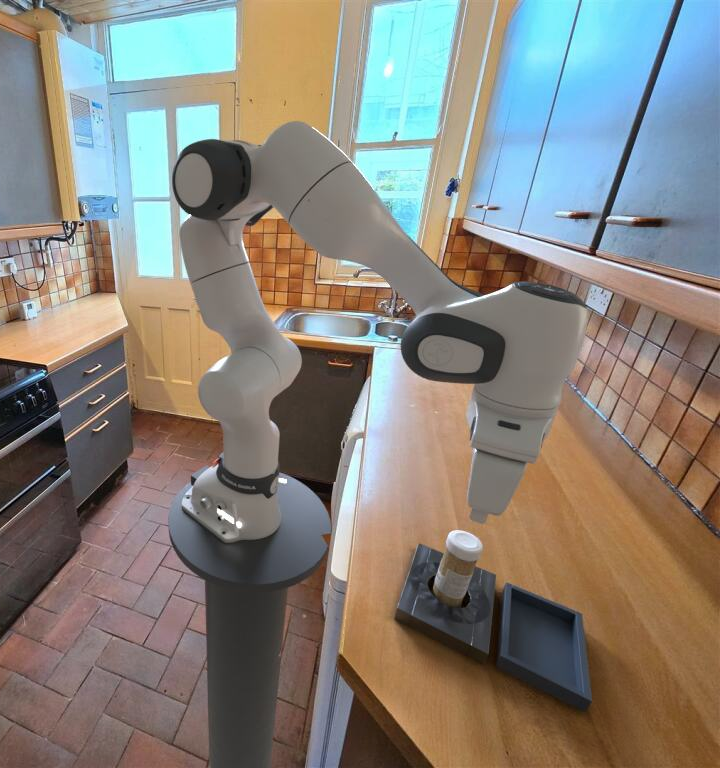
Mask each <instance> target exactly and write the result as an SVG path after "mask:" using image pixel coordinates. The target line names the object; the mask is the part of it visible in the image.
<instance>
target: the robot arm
mask: <svg viewBox="0 0 720 768" xmlns="http://www.w3.org/2000/svg"><path fill="white" fill-rule="evenodd" d="M171 172H172V173H171V185H172V192H173V195H174V198H175V200H176V202H177V204H178V205H179V207H180V208H181V209H182V211H184V212H185V213H186V214H187V215H188V216H187V217H185V219H184V220H182V223H181V225H180V227H179V234H178V235H179V242H180V249H181V254H182V259H183V263H184V267H185V271H186V274H187V278H188V281H189V284H190V287H191V290H192V293H193V296H194V299H195V301H196V305H197V307H198V310H199V314H200V316H201V318H202V322H203V323H204V325H205V327H207V328H208V329H209V330H211V331H213V332H216V333H217V334H218V335H219V336H221V337H222V338H223V339H224V341H225V342H226V344H227V345H228V347H229V349H230V350H231V354H229V355H227V356H225V357H223V358H221V359H219V360H218V361H216V362H215V363H214V364H213V365H212V366H211V367H210V368H209V369H208V370H206V372H205V373H204V374H203V375H202V376H201V378H200V379H199V381H198V386H197V396H198V400H199V402H200V404H201V407H202V408H203V410H204V411H205V412H206V414H208V416H210V417H211V418H212V419H214V420H216V421H218V422H219V423H220V427H221V431H222V443H223V445H222V446H223V452H222V453H220V454H219V455H218V457H217V458H216V459H215V460H214V461H213V462H212V466H208V465H207V464H206V465H204V466H203V467H202V468H200V469H199V470H197V471H196V472H194V473H192V474H191V475H190V482H191V485H192V486H193V487H192V488H191V489H190V490H189V491H188V492H187V493H186V494H185V496H184V498H183V500H182V506H181V507H182V509H183V510H184V511H186V512H187V513H188V514H189V515H191V516H192V517H193V518H194V519H196V520H197V521H198V522H199V523H201V524H202V525H203V526H205V527H206V528H207V529H208V530H210V531H211V532H212V533H213V534H215V535H216V536H217V537H218V538H220V539H221V540H222V541H223V542H225V543H232V542H236V541H239V540H256V539H261V538H265V537H267V536H269V535H271V534H273V533H274V532H275V531H276V530H277V529H278V528H279V526H280V524H281V519H282V516H281V512H280V509H279V504H278V497H277V489H278V484H279V482H283V483H286V481H287V480H285V479H280V478H279V472H280V461H279V452H280V451H279V449H280V436H281V435H280V430H279V428H278V425H277V424H276V423H275V422H273V420H271V419H270V414H269V413H270V407H271V403H272V402H273V400H274V398H275V397H277V396H278V395H280V394H281V393H282V392H283V391H285V390H286V389H288V388H289V387H290V386H291V385H292V383H293V382H294V380H295V379H296V377H297V376H298V374H299V372H300V370H301V369H302V364H303V359H302V354H301V352H300V349H299V347H298V346H297V345H296V344H295V342H294V341H292V340H291V339H289V338H288V337H286V336H285V335H283V334H282V333H281V331H280V329H279V328H278V327H277V325H276V324H275V322H274V320H273V319H272V317H271V316H270V314H269V313H268V311H267V308H266V306H265V305H264V302H263V299H262V296H261V294H260V291H259V287H258V285H257V282H256V279H255V275H254V272H253V270H252V267H251V264H250V260H249V257H248V255H247V251H246V249H245V245H244V240H243V232H244V229H245V226H246V227H253V226H255V225H256V224H257V223H258V222H259V221H260V220H261V219H262V218H263V217H264V216H265V215H266V214H267V213H269V212H270V211H271V210H272V209H275V210H276V211H277V212H278V214H280V216H281V217H282V218H283V220H285V222H286V223H287V224H288V225H289V227H290V228H291V229H292V230H293V232H294V233H295V234H296V235H297V236H298V237H299V239H301V240H302V241H303V242H304V243H305V244H306V245H307V246H309V247H310V248H311V249H312V250H313V251H314V252H316V253H317V254H318V255H320V256H322V257H324V258H327V259H333V260H338V261H346V262H349V263H350V262H351V263H355V264H358V265H362V266H364V267H366V268H368V269H371V270H372V271H373V272H375V273H376V274H378V275H379V276H380V277H381V278H382V279H383V280H384V281H385V282H386V283H387V284H388V285H389V286H390V287H391V288H392V289H393V291H395V292H396V293H397V294H398V296H400V297H401V298H402V300H403V301H404V302H405V303H406V304H407V305H408V306H409V307H410V308H411V309H412V310H413V313H414V314H415V318H414V319H413V320H412V321H411V322H410V323H409V324H408V326H407V327H406V328H405V330H404V331H403V333H402V336H401V339H400V353H401V356H402V359H403V362H404V363H405V365H406V366H407V368H408V369H410V371H411V372H412V373H414V374H415V375H416V376H419V377H420V378H423V379H425V380H428V381H431V382H432V381H433V382H437V383H438V382H439V383H449V384H460V385H473V387H472V391H471V395H470V399H469V402H468V406H467V409H466V413H465V420H466V421H467V423H468V428H469V435H470V436H469V441H470V442H469V447H471V448H472V456H471V457H472V458H471V466H470V473H469V478H468V485H467V492H466V493H467V494H466V503H467V506H469V508H471V509H470V513H469V519H470V520H471V521H473V522H475V523H479V524H482V525H483V524H485V523H486V522H487V520H488V516H489V515H492V516H495V517H496V516H497V517H499V516H501V515H503V513H505V511H506V510H507V509H508V507H509V505H510V503H511V501H512V499H513V497H514V495H515V493H516V492H517V490H518V488H519V485H520V483H521V481H522V479H523V477H524V474H525V473H526V470H527V467H528V465H529V464H536V463H537V461H538V458H539V456H540V454H541V450H542V447H543V443H544V442H545V441H546V439H548V437H549V435H550V432H551V429H552V426H553V424H554V421H555V419H556V416H557V414H558V411H559V408H560V407H561V403H562V400H563V399H562V397H563V395H562V391H563V386H564V383H565V381H566V380H567V378H568V377H569V376H570V375H571V374H572V373H573V371H574V369H575V367H576V364H577V361H578V358H579V356H580V353H581V350H582V347H583V343H584V340H585V336H586V332H587V327H588V323H589V309H588V307H587V305H586V304H585V302H584V301H583V299H582V298H580V297H579V296H578V295H577V294H575V293H574V292H572V291H570V290H569V291H568V290H567V289H564V288H561V287H558V286H555V285H551V284H546V283H541V282H531V281H516V282H513V283H511V284H509V285H508V286H506V287H504V288H501V289H499V290H497V291H494V292H491V293H488V294H485V295H484V294H482V293H481V292H479V291H476V290H474V289H472V288H469V287H467V286H464V285H463V284H460V283H458V282H456V281H455V280H453V279H452V278H451V277H449V276H448V275H447V274H446V273H445V272H444V271H443V270H442V269H441V268H440V267H439V266H438V265H437V264H436V263H435V261H433V260H432V259H431V257H429V256H428V254H427V253H425V251H424V250H423V249H422V248H421V247H420V246H419V245H418V244H417V243H416V242H415V241H414V240H413V239H412V238H411V237H410V236H409V234H408V233H406V231H405V230H404V229H403V227H402V226H401V225H400V223H399V222H398V220H397V219H396V218H395V216H394V215H393V214H392V213H391V211H390V210H389V208H388V207H387V206H386V204H385V202H384V201H383V200H382V199H381V197H380V196H379V194H378V193H377V191H376V189H375V188H374V187H373V186H372V184H371V183H370V182H369V180H368V178H366V177H365V175H364V174H363V173H362V171H361V170H360V169H359V168H358V167H357V165H355V163H354V162H353V161H352V160H351V159H350V158H349V156H347V155H346V154H345V153H344V152H343V151H342V150H341V149H340V148H339V147H338V146H337V145H336V144H335V143H334V142H332V141H331V140H330V139H329V138H328V137H326V136H325V135H324V134H322V133H321V132H320V131H319V130H317V128H314V127H313V126H311V125H310V124H308V123H307V122H304V121H300V120H292V121H288V122H285V123H283V124H281V125H280V126H279V127H277V128H276V129H274V130H273V131H272V132H271V133H270V134H269V135H268V136H267V137H266V139H265V140H264V141H263V143H261V144H256V143H252V142H248V141H245V140H239V139H232V140H221V139H217V138H216V139H215V138H207V139H201V140H197V141H194V142H192V143H190V144H188V145H187V146H185V147H184V148H183V149H182V150H181V151H180V152H179V154H178V155H177V157H176V159H175V161H174V163H173V168H172V171H171Z"/></svg>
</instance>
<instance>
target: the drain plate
mask: <svg viewBox="0 0 720 768" xmlns="http://www.w3.org/2000/svg"><path fill="white" fill-rule="evenodd" d="M443 555H444V552H442V551H440V550H437V549H436V548H433V547H430V546H427V545H426V544H423V543H420V542H418V543H417V546H416V549H415V552H414V556H413V559H412V561H411V564H410V569H409V570H408V574H407V576H406V580H405V583H404V586H403V589H402V591H401V595H400V597H399V602H398V604H397V606H396V611H395V614H394V620H397V621H398V622H400V623H401V624H404V625H406V626H408V627H410V628H412V629H413V630H415V631H417V632H420V633H421V634H423V635H425V636H427V637H428V638H431V639H433V640H435V641H436V642H439V643H440V644H442V645H445V646H446V647H448V648H450V649H452V650H454V651H455V652H458V653H459V654H462V655H463V656H466V657H467V658H469V659H471V660H473V661H475V662H477V663H479V664H481V665H483V666H484V665H485V663H486V660H487V658H488V656H489V652H490V643H491V642H490V641H491V632H492V623H493V621H492V620H493V612H494V602H495V591H496V583H497V582H496V580H497V574H495V573H493V572H491V571H489V570H487V569H483V568H481V567H478V566H476V565H475V568H474V572H473V575H472V578H471V580H470V583H469V586H468V588H467V591H466V594H465V596H464V597H463V600H462V602H464V605H465V607H461V608H454V607H450V606H447V605H445V604H443V603H441V602H440V601H439V600H437V599H436V598H435V597H434V596H433V595H432V593H431V590H430V589H429V587H430V586H432V587H433V586H434V583H435V578H436V575H437V572H438V569H439V566H440V563H441V560H442V558H443Z"/></svg>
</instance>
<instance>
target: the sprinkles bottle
mask: <svg viewBox="0 0 720 768" xmlns="http://www.w3.org/2000/svg"><path fill="white" fill-rule="evenodd" d="M483 549H484V546H483V543H482V541H481V540H480V539H479V538H478V537H477V536H476V535H474V534H472V533H471V532H468V531H465V530H459V529H455V530H452V531H450V532H449V533H448V535H447V538H446V541H445V549H444V551H443V553H444V555H443V558H442V560H441V563H440V566H439V569H438V572H437V575H436V578H435V583H434V585H432V588H431V590H430V592H431V593H432V595H433V596H434V597H435V598H436V599H437V600H439V601H440V602H441V603H443V604H445V605H447V606H450V607H454V608H462V603H463V597H464V596H465V594H466V591H467V588H468V586H469V583H470V580H471V578H472V575H473V572H474V568H475V566H476V565H477V563H478V561H479V559H481V557H482V553H483Z"/></svg>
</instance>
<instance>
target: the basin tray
mask: <svg viewBox="0 0 720 768" xmlns="http://www.w3.org/2000/svg"><path fill="white" fill-rule="evenodd" d="M587 653H588V652H587V645H586V636H585V628H584V620H583V613H582V612H580V611H578V610H575V609H572V608H569V607H567V606H565V605H563V604H561V603H558V602H555V601H552V600H550V599H548V598H546V597H543V596H541V595H538V594H536V593H533V592H532V591H528V590H527V589H524V588H522V587H519V586H517V585H514V584H512V583H510V582H508V581H506V582H505V584H504V586H503V588H502V591H501V596H500V610H499V621H498V636H497V649H496V660H495V661H496V662H495V668H497V669H500V670H501V671H503V672H505V673H507V674H509V675H510V676H513V677H515V678H516V679H519V680H520V681H522V682H524V683H527V684H528V685H530V686H532V687H534V688H536V689H538V690H540V691H541V692H544V693H546V694H548V695H550V696H551V697H554V698H555V699H558V700H559V701H561V702H563V703H565V704H567V705H569V706H570V707H572V708H575V709H577V710H579V711H581V712H583V713H586V712H587V710H588V709H589V707H590V705H591V704H592V702H593V698H592V689H591V688H592V687H591V680H590V670H589V664H588V663H589V662H588V654H587Z"/></svg>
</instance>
